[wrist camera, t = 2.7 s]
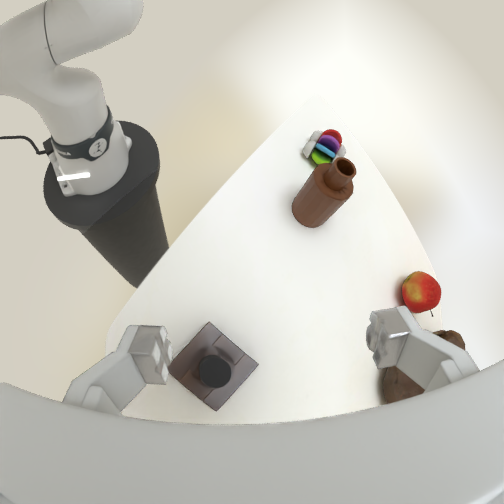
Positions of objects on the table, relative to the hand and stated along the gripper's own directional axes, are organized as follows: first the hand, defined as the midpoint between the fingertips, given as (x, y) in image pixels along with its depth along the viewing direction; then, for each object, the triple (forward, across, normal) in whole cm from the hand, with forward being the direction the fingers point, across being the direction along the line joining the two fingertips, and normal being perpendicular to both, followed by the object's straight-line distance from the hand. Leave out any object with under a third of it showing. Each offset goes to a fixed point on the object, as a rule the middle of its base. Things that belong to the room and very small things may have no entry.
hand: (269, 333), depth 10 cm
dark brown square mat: (+20, +8, +26) cm, 34 cm away
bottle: (+43, -10, +10) cm, 45 cm away
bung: (+20, +8, +26) cm, 34 cm away
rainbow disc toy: (+54, -16, +1) cm, 56 cm away
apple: (+34, -30, +21) cm, 50 cm away
